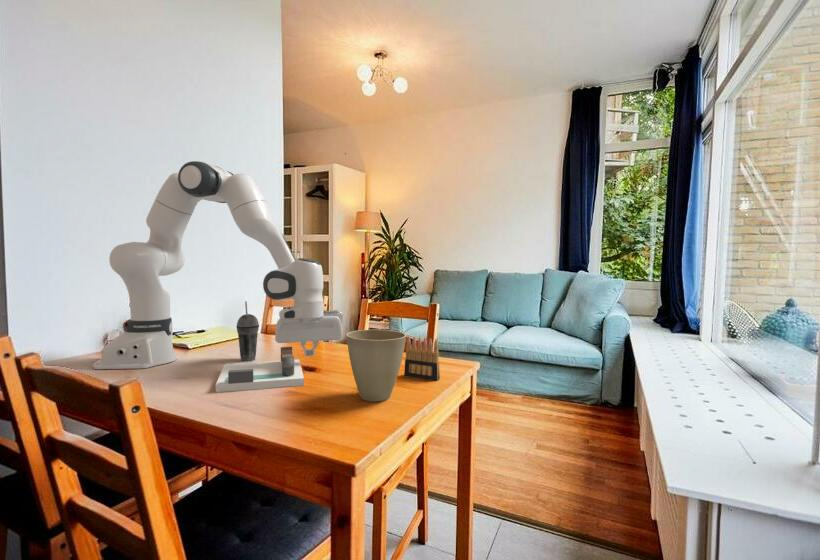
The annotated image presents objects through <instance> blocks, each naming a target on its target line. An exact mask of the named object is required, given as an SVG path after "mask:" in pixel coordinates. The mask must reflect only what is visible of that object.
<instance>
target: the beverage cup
mask: <svg viewBox="0 0 820 560" xmlns="http://www.w3.org/2000/svg"><path fill="white" fill-rule="evenodd" d="M247 302H248V301H246V300H245V301H244V305H245V314H243V315H241V316H239V317H238V320H237V322H236V331H237V336H238V337H237V338H238V345H239V346H238V347H239V356H240V361H241V362H243V361H250V362H254V361H255V360H256V357H257V356H256V355H257V344H258V333H259V328H260V323H259V320H258V318H257V317H256V316H255V315H254V314H250V313H248V303H247ZM253 360H254V361H253Z"/></svg>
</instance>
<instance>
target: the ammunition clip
mask: <svg viewBox="0 0 820 560" xmlns="http://www.w3.org/2000/svg"><path fill="white" fill-rule="evenodd" d="M432 340H433V339H432V338H430V337H429V341H428V342H427V338H426V337H424V339H423V340H422V338H421V336H419V337H418V340H416V337H415V336H413V337H412V341H411V337H410V335H408V336H407V337H406V347H405V359H404V370H403V371H404V373H403V375H404V377H407V378H415V379H420V380H428V381H434V382H437V381H439V380H440V376H441V375H440V361H439V358H440V357H439V355H440V354H439V343H438V342H439V341H438V339H437V338H435V339H434V341H432ZM433 342H434V343H433Z"/></svg>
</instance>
